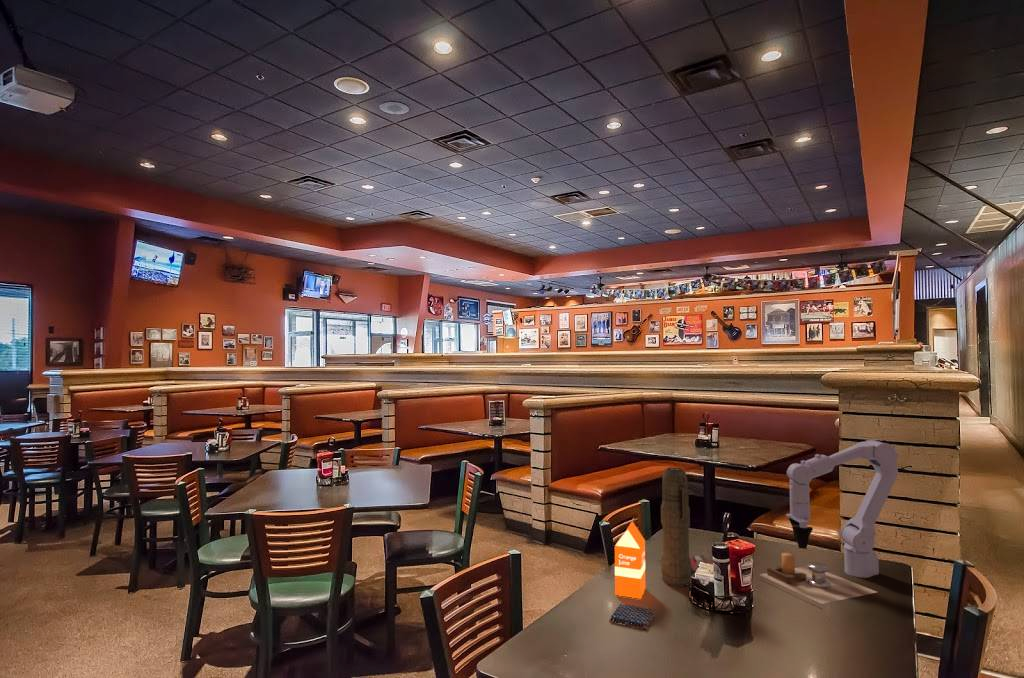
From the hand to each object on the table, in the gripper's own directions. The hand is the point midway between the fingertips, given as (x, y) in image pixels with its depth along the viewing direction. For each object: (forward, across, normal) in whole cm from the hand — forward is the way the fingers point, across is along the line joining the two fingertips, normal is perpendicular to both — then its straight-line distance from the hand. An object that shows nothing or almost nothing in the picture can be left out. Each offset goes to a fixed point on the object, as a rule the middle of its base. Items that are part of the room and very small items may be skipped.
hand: (800, 544), depth 182 cm
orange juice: (+10, +30, -50) cm, 60 cm away
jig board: (+10, +9, +3) cm, 14 cm away
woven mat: (+11, +48, -48) cm, 68 cm away
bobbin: (+8, +10, +3) cm, 14 cm away
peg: (+8, +7, -5) cm, 12 cm away
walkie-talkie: (+10, +4, -31) cm, 33 cm away
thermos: (+10, +17, -38) cm, 43 cm away
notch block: (+8, +8, -5) cm, 13 cm away
